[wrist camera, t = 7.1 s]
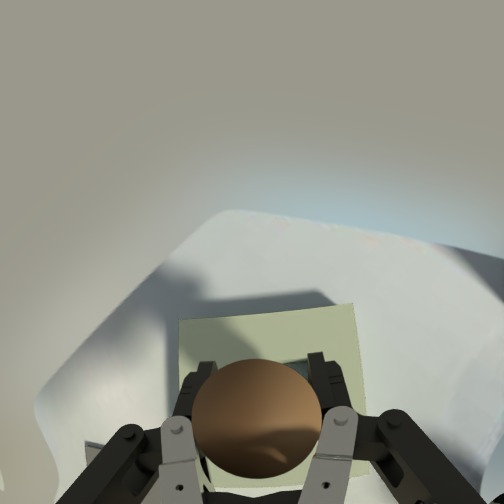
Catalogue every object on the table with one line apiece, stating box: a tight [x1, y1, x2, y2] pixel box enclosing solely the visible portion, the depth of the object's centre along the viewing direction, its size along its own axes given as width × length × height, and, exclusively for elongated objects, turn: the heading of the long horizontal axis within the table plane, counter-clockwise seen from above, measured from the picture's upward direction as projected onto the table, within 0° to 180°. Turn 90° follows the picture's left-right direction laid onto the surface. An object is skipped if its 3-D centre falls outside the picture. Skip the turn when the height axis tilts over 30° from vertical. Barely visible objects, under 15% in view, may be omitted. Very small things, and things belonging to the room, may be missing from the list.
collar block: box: [178, 303, 370, 488], centre depth 22 cm, size 14×14×3 cm
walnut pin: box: [192, 359, 322, 479], centre depth 13 cm, size 4×4×9 cm
